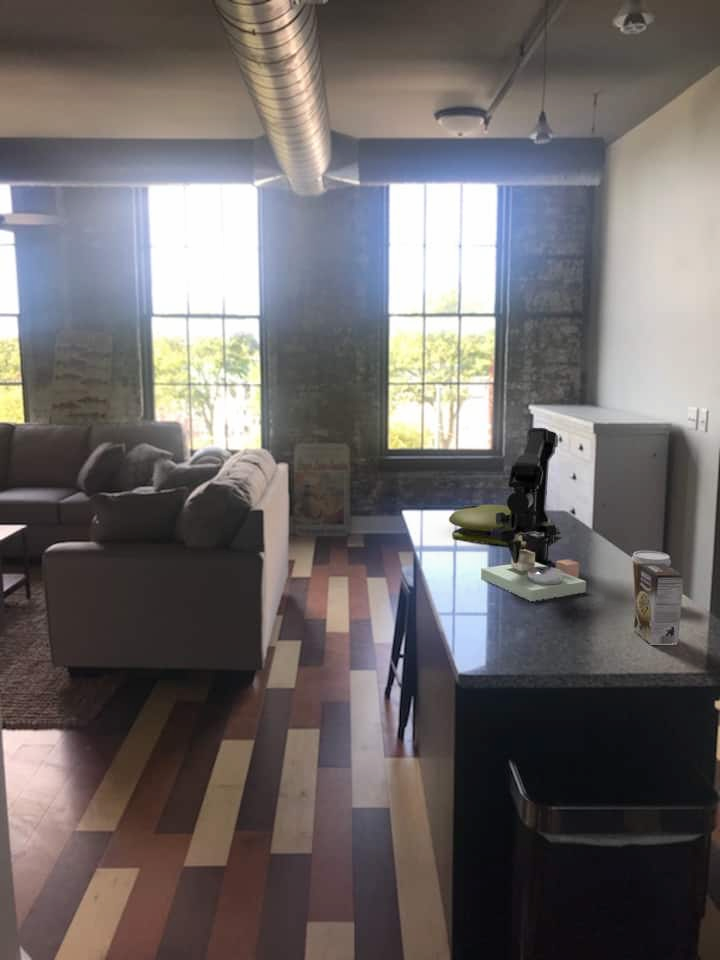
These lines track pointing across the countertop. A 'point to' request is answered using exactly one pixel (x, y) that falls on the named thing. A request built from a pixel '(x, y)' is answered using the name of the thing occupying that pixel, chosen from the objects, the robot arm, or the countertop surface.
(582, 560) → the countertop surface
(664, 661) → the countertop surface
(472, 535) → the spaceship
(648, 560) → the disposable coffee cup
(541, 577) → the metal puck
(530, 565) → the birch cube
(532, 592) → the pocket deck
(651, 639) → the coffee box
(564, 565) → the terracotta cube
